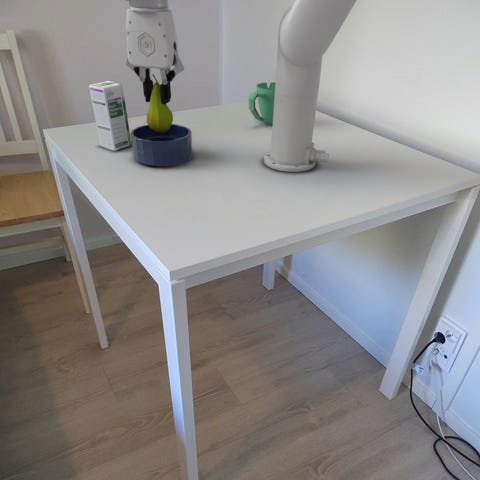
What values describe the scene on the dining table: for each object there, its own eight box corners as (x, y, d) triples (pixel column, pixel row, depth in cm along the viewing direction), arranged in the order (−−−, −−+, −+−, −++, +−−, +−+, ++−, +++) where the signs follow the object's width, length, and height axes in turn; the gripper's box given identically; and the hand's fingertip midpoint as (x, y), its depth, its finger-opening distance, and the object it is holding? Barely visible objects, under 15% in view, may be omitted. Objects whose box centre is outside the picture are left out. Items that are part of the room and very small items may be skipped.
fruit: (177, 134, 99) (174, 76, 92) (151, 137, 98) (145, 78, 90) (169, 126, 104) (166, 70, 96) (144, 128, 102) (139, 71, 94)
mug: (268, 116, 135) (271, 80, 128) (293, 122, 130) (297, 86, 123) (237, 125, 126) (238, 88, 120) (262, 133, 121) (264, 94, 115)
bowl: (201, 152, 108) (200, 127, 104) (177, 171, 98) (175, 145, 94) (150, 145, 111) (148, 120, 108) (123, 163, 101) (119, 137, 97)
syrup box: (114, 151, 107) (104, 87, 98) (99, 146, 110) (88, 83, 100) (132, 145, 111) (123, 83, 101) (117, 141, 113) (107, 79, 104)
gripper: (102, 0, 84) (117, 101, 96) (179, 4, 80) (184, 110, 92) (122, -2, 89) (133, 94, 101) (194, 2, 86) (198, 102, 97)
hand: (158, 101), depth 96 cm, fingers closed on fruit, 3 cm apart
